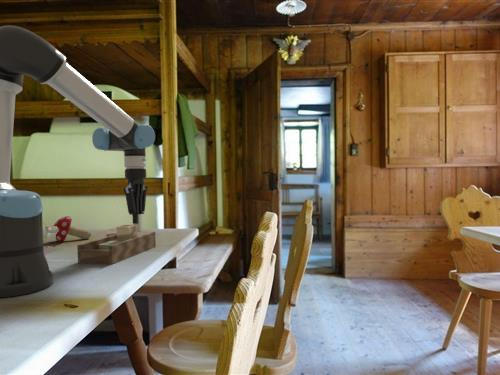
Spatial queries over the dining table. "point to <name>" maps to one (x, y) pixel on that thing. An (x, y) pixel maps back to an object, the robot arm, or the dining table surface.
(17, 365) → the dining table surface
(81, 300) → the dining table surface
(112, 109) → the robot arm
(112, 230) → the brick
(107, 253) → the box
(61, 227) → the decorative mushroom
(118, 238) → the maple block
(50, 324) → the dining table surface
